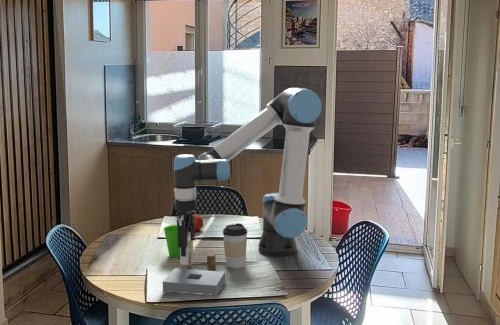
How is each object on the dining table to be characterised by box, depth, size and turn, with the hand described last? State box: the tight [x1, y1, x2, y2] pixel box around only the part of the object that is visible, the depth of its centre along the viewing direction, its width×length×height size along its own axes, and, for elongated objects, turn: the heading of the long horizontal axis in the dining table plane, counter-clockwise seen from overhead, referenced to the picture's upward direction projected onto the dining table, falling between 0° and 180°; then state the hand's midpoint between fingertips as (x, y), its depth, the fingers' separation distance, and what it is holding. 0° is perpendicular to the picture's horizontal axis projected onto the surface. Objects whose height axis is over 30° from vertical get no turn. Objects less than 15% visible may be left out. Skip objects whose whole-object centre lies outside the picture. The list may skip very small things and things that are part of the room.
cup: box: [163, 224, 180, 258], centre depth 211 cm, size 9×9×11 cm
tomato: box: [194, 213, 204, 232], centre depth 242 cm, size 9×9×8 cm
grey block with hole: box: [162, 267, 226, 296], centre depth 181 cm, size 18×12×4 cm, turn 79°
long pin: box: [182, 232, 192, 269], centre depth 195 cm, size 3×3×14 cm
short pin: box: [206, 253, 217, 271], centre depth 194 cm, size 3×3×6 cm
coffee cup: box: [222, 223, 248, 269], centre depth 200 cm, size 9×9×15 cm
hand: (187, 261), depth 196 cm, fingers open, 5 cm apart
